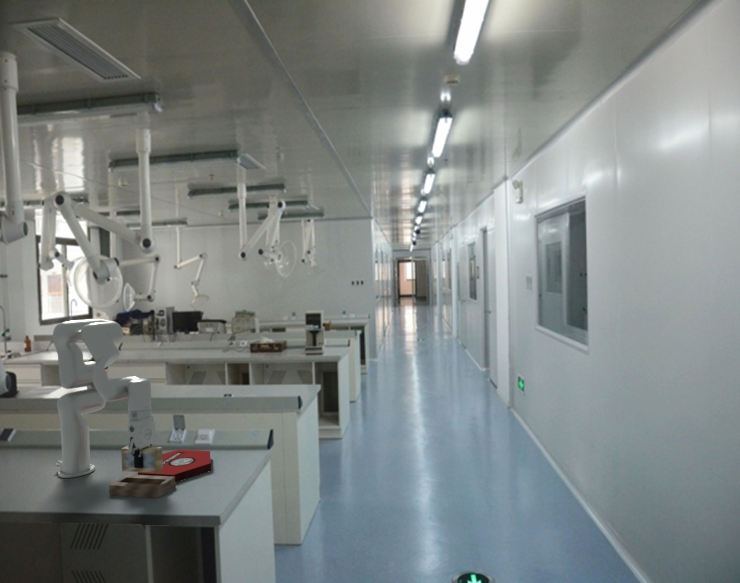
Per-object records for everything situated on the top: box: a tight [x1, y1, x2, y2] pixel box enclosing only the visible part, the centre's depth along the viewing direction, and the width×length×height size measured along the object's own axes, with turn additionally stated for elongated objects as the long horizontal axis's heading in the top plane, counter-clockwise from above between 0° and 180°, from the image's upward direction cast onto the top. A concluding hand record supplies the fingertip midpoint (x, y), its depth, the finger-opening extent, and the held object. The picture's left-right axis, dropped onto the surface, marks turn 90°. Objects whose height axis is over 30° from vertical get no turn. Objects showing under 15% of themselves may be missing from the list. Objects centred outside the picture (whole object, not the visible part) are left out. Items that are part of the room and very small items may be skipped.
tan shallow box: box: [108, 473, 176, 499], centre depth 182 cm, size 19×10×4 cm, turn 79°
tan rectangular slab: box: [120, 445, 163, 473], centre depth 182 cm, size 14×3×8 cm, turn 79°
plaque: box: [137, 449, 212, 483], centre depth 203 cm, size 27×4×30 cm
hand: (142, 465), depth 182 cm, fingers closed on tan rectangular slab, 3 cm apart
